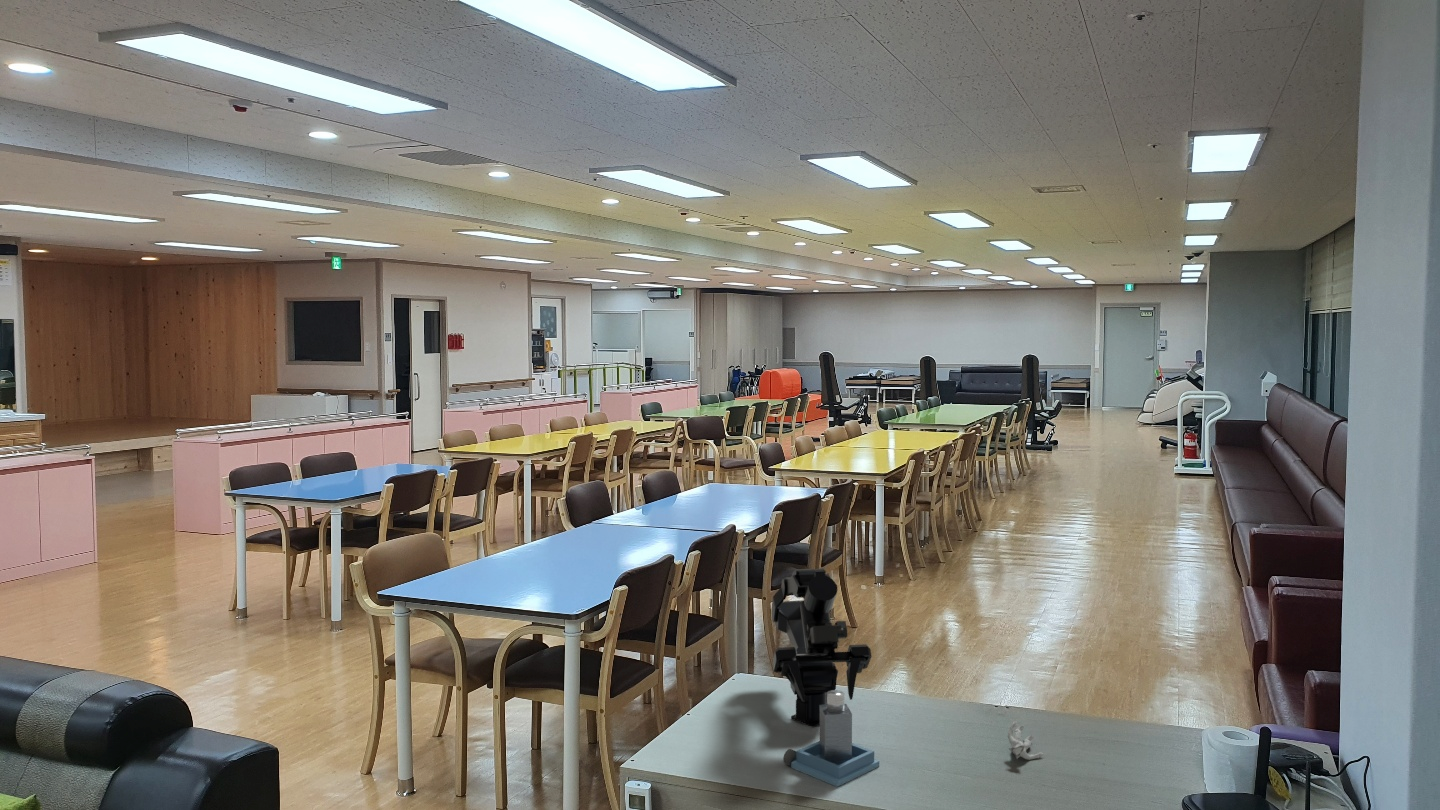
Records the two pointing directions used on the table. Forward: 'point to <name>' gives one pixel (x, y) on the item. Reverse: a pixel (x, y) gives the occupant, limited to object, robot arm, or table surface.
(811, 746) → the chassis
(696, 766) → the table surface
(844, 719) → the square bottle with cap
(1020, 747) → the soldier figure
